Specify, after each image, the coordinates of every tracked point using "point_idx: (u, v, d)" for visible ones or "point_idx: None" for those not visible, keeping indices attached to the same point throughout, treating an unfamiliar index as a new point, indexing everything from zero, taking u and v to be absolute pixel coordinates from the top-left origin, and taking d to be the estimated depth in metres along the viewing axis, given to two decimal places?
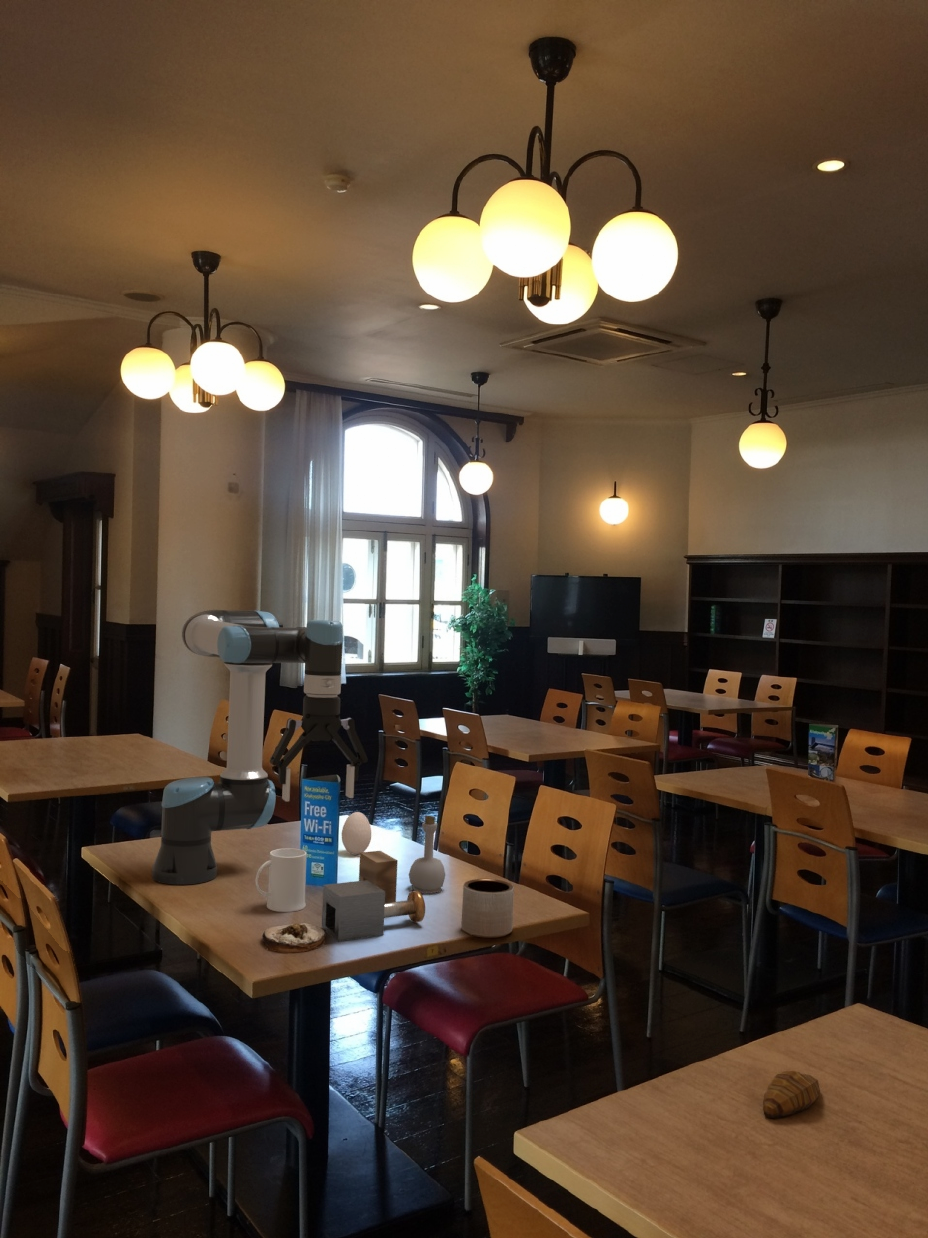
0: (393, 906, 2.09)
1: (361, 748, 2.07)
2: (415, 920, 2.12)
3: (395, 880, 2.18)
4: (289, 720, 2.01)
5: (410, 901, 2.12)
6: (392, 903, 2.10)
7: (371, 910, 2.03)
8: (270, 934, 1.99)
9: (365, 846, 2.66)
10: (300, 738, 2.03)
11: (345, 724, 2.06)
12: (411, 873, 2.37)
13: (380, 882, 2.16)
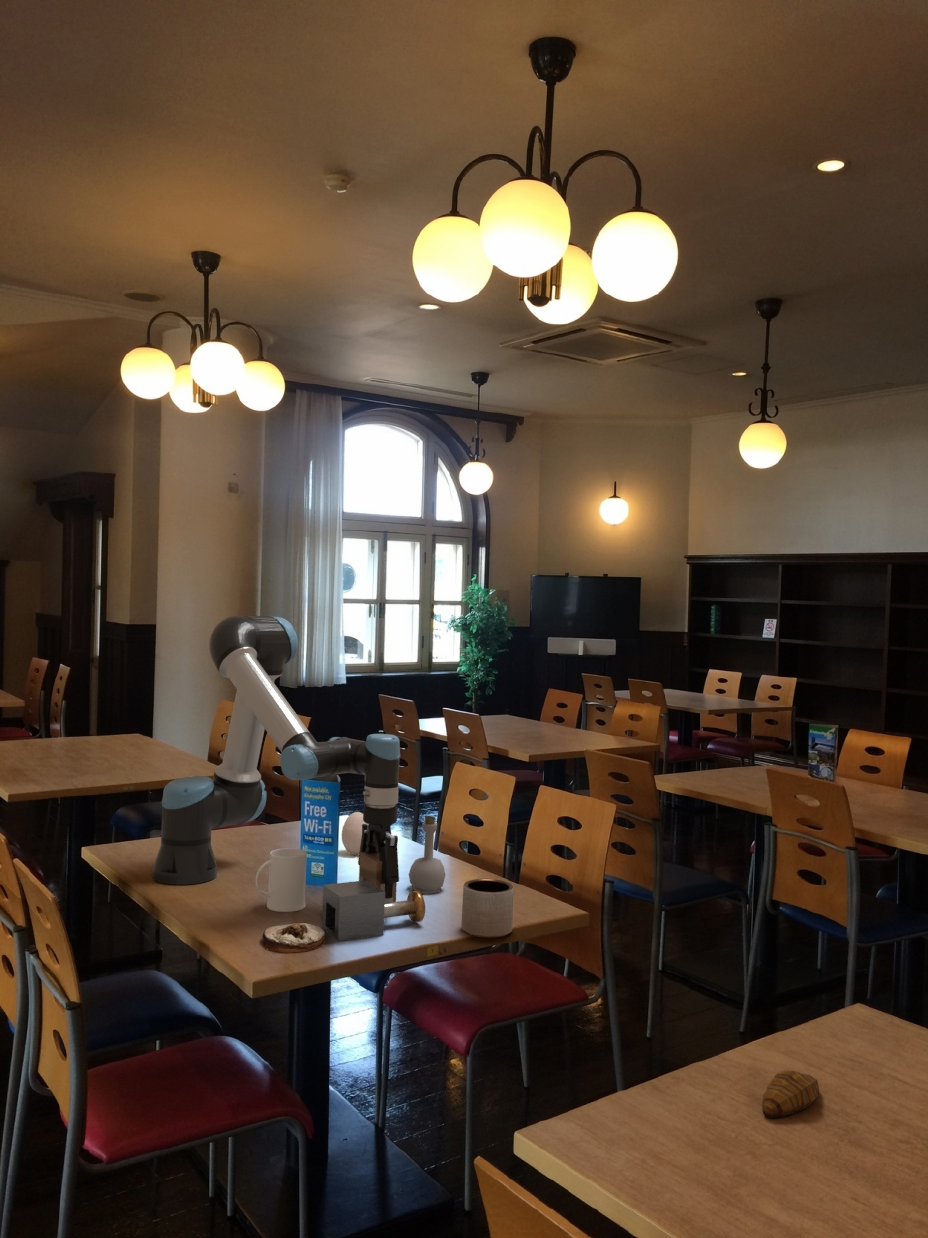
0: (393, 906, 2.09)
1: (387, 867, 2.14)
2: (415, 920, 2.12)
3: None
4: None
5: (410, 901, 2.12)
6: (392, 903, 2.10)
7: (371, 910, 2.03)
8: (270, 934, 1.99)
9: None
10: None
11: None
12: (411, 873, 2.37)
13: None
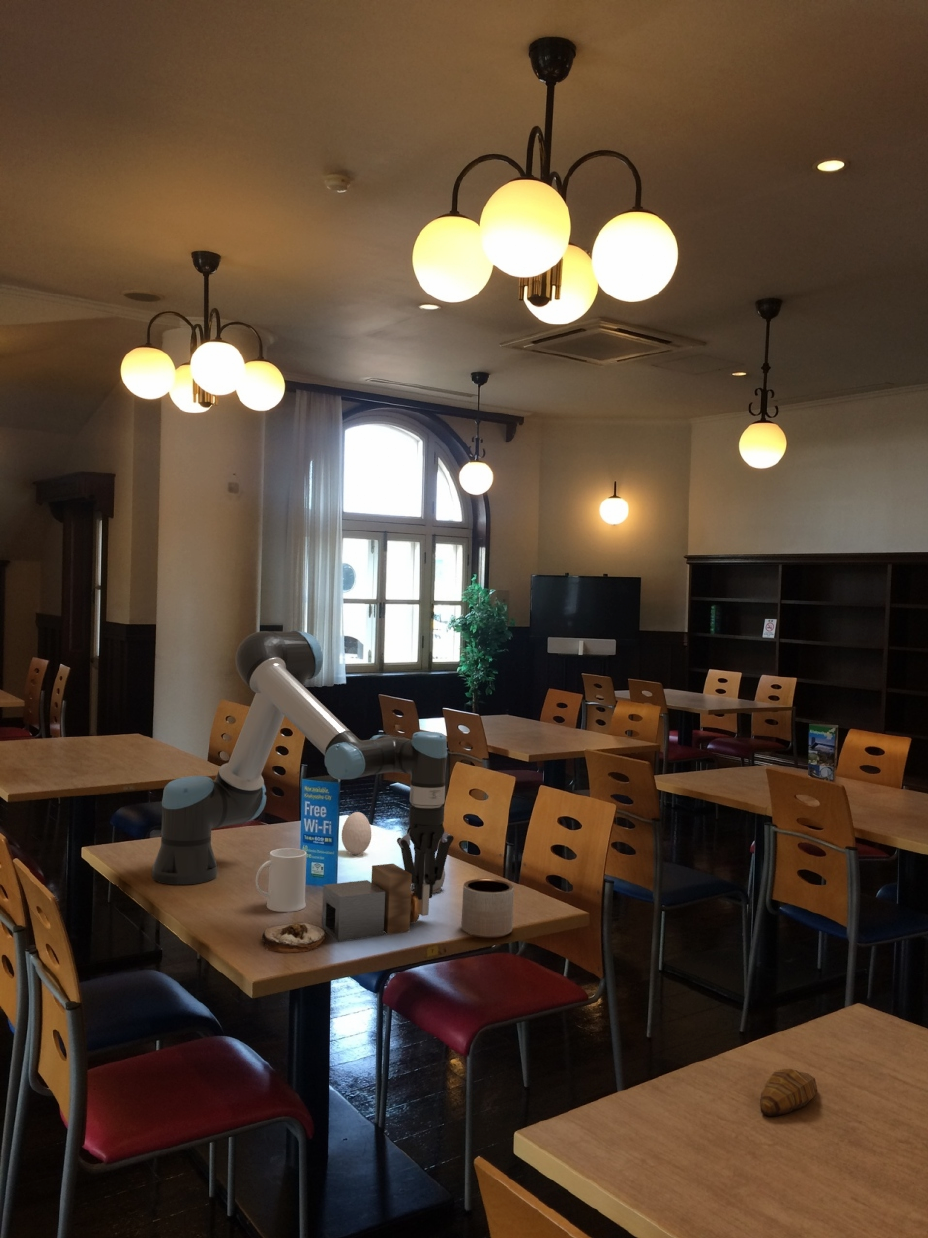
0: None
1: (442, 865, 2.15)
2: (410, 921, 2.11)
3: (409, 895, 2.07)
4: (399, 842, 2.11)
5: None
6: None
7: (371, 910, 2.03)
8: (270, 934, 1.99)
9: (365, 846, 2.66)
10: (416, 851, 2.13)
11: (444, 837, 2.16)
12: None
13: (393, 897, 2.06)
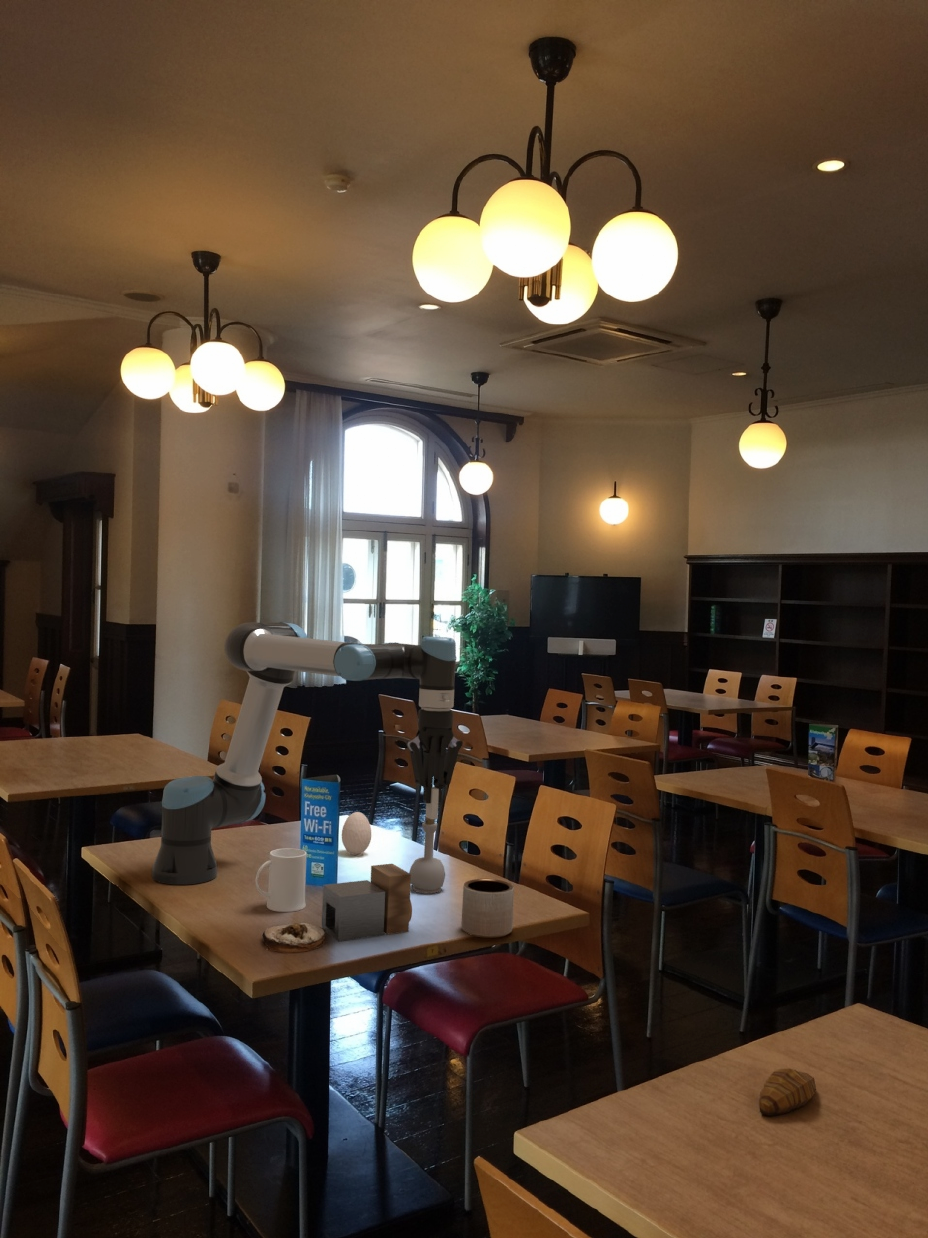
0: None
1: (452, 770, 2.15)
2: None
3: (408, 895, 2.07)
4: (409, 745, 2.11)
5: None
6: None
7: (371, 910, 2.03)
8: (270, 934, 1.99)
9: (365, 846, 2.66)
10: (425, 755, 2.14)
11: (453, 742, 2.16)
12: (411, 873, 2.37)
13: (393, 897, 2.06)
